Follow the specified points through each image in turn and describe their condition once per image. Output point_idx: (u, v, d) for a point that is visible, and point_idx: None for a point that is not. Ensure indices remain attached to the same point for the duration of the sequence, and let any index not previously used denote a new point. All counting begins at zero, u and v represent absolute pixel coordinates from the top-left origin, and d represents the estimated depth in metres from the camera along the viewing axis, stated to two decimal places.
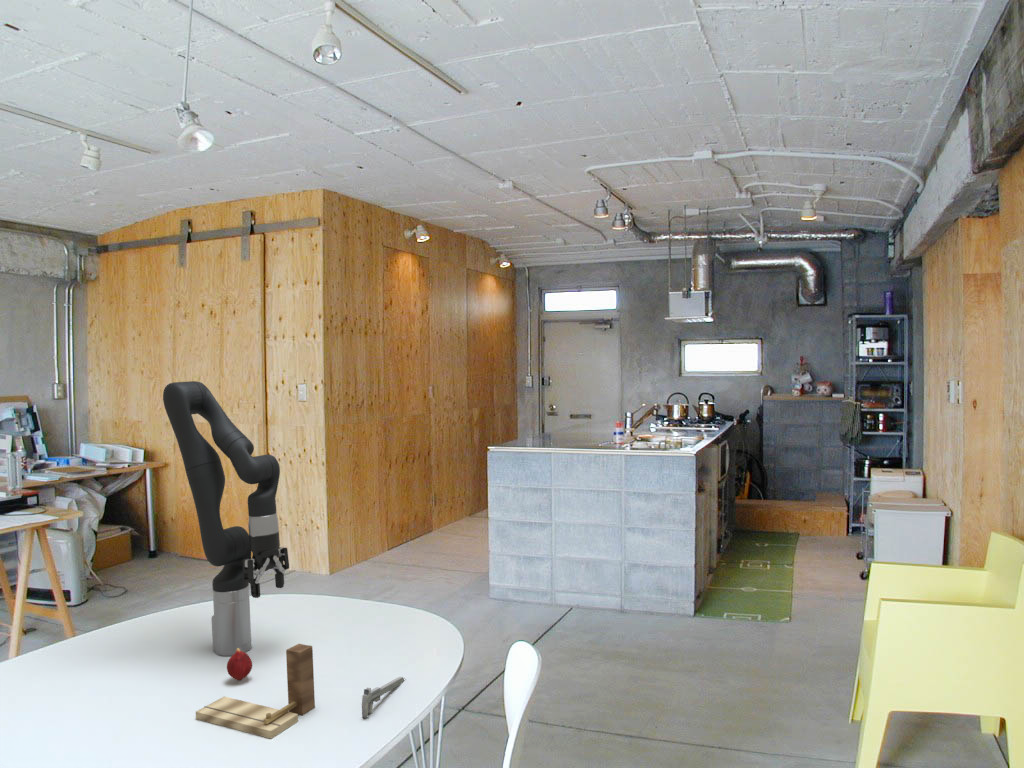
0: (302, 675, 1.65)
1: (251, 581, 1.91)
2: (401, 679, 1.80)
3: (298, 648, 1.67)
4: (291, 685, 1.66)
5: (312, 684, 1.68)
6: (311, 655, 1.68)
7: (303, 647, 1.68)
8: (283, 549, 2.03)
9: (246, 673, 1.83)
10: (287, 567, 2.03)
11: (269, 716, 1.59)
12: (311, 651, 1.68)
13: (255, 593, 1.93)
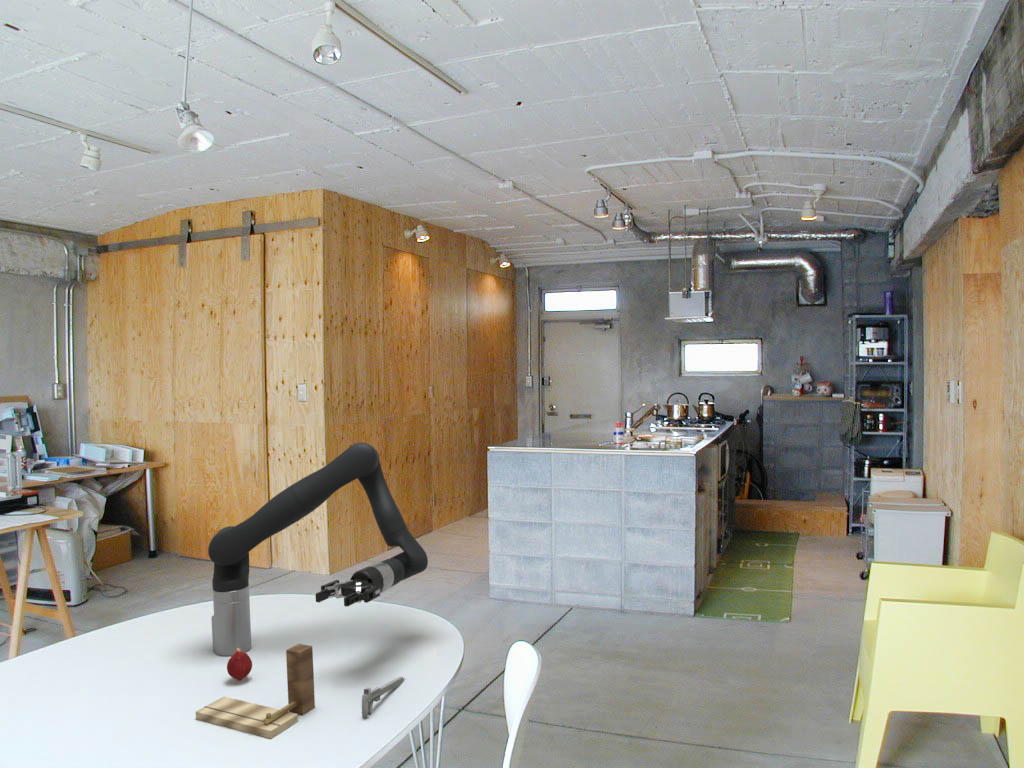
0: (302, 675, 1.65)
1: (366, 602, 1.79)
2: (401, 679, 1.80)
3: (298, 648, 1.67)
4: (291, 685, 1.66)
5: (312, 684, 1.68)
6: (311, 655, 1.68)
7: (303, 647, 1.68)
8: (339, 588, 1.89)
9: (246, 673, 1.83)
10: None
11: (269, 716, 1.59)
12: (311, 651, 1.68)
13: (351, 603, 1.76)
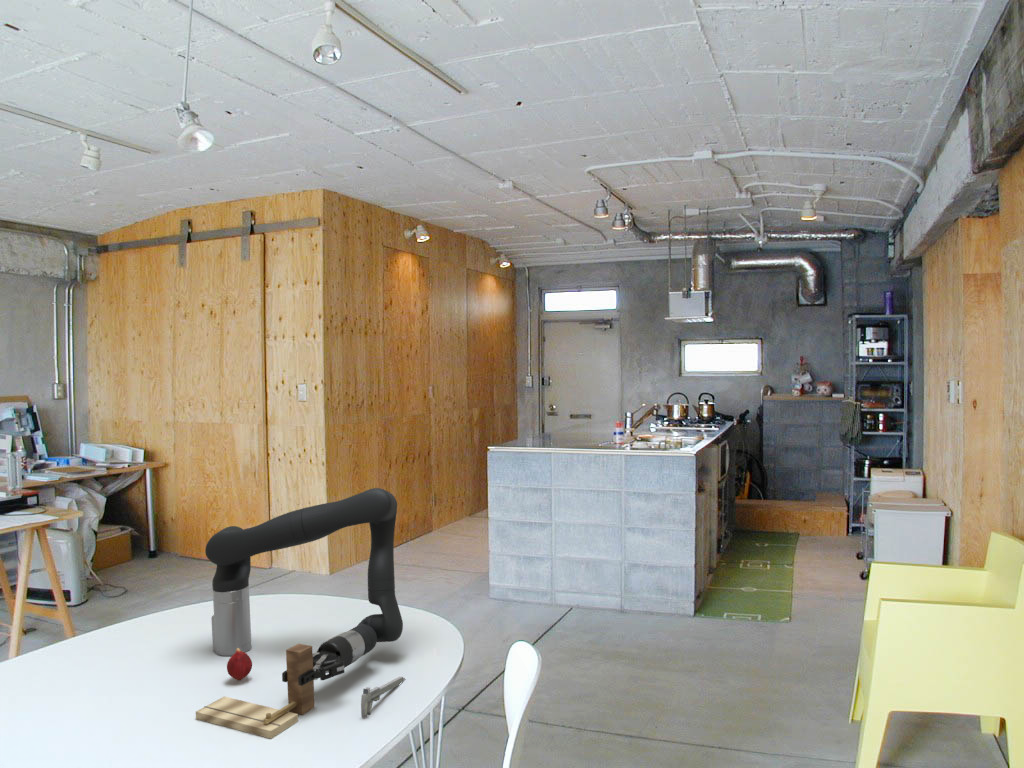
0: None
1: (323, 679, 1.68)
2: (401, 679, 1.80)
3: (298, 648, 1.67)
4: (291, 685, 1.66)
5: (312, 684, 1.68)
6: (310, 655, 1.68)
7: (303, 647, 1.68)
8: None
9: (246, 673, 1.83)
10: None
11: (269, 716, 1.59)
12: (311, 651, 1.68)
13: None
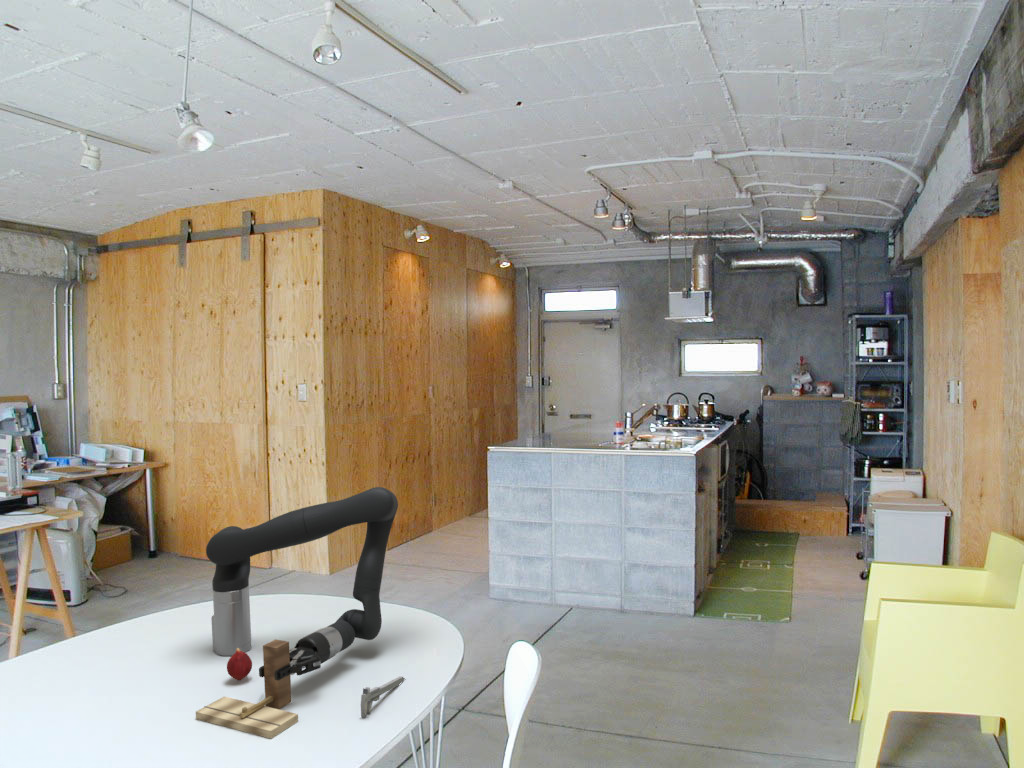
0: None
1: (299, 674, 1.71)
2: (401, 679, 1.80)
3: (275, 644, 1.70)
4: (268, 680, 1.69)
5: (288, 679, 1.71)
6: (287, 650, 1.71)
7: (280, 643, 1.71)
8: None
9: (246, 673, 1.83)
10: None
11: (245, 710, 1.62)
12: (287, 647, 1.71)
13: None
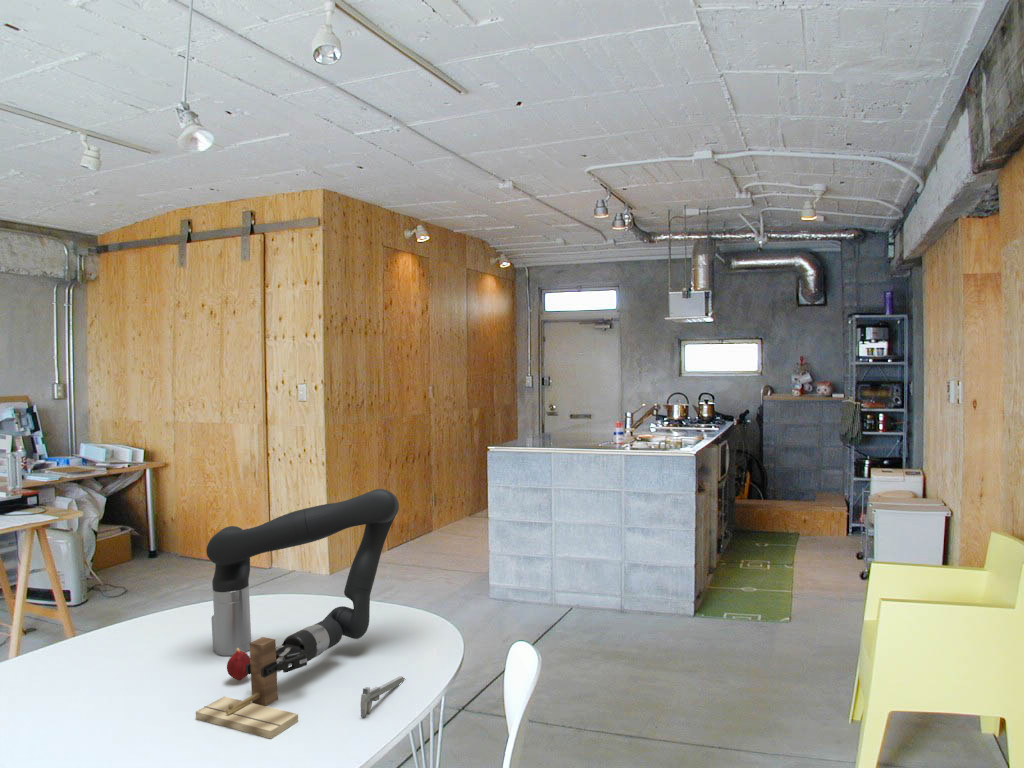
0: None
1: (286, 671, 1.73)
2: (401, 679, 1.80)
3: (261, 641, 1.72)
4: (255, 677, 1.71)
5: (275, 676, 1.73)
6: (273, 648, 1.73)
7: (266, 640, 1.73)
8: None
9: None
10: None
11: (231, 707, 1.64)
12: (274, 644, 1.73)
13: None
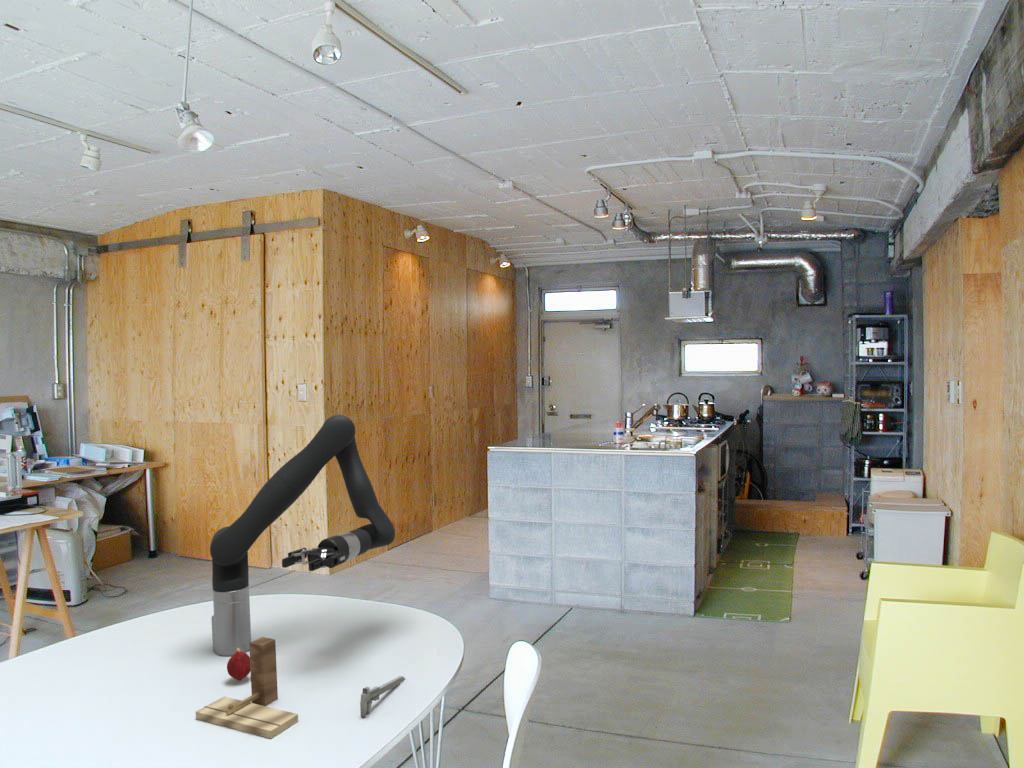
0: (264, 667, 1.70)
1: (331, 567, 1.86)
2: (401, 678, 1.81)
3: (261, 641, 1.72)
4: (254, 677, 1.71)
5: (274, 676, 1.73)
6: (273, 648, 1.73)
7: (266, 640, 1.73)
8: (306, 556, 1.96)
9: (246, 673, 1.83)
10: None
11: (231, 707, 1.64)
12: (274, 644, 1.73)
13: None
